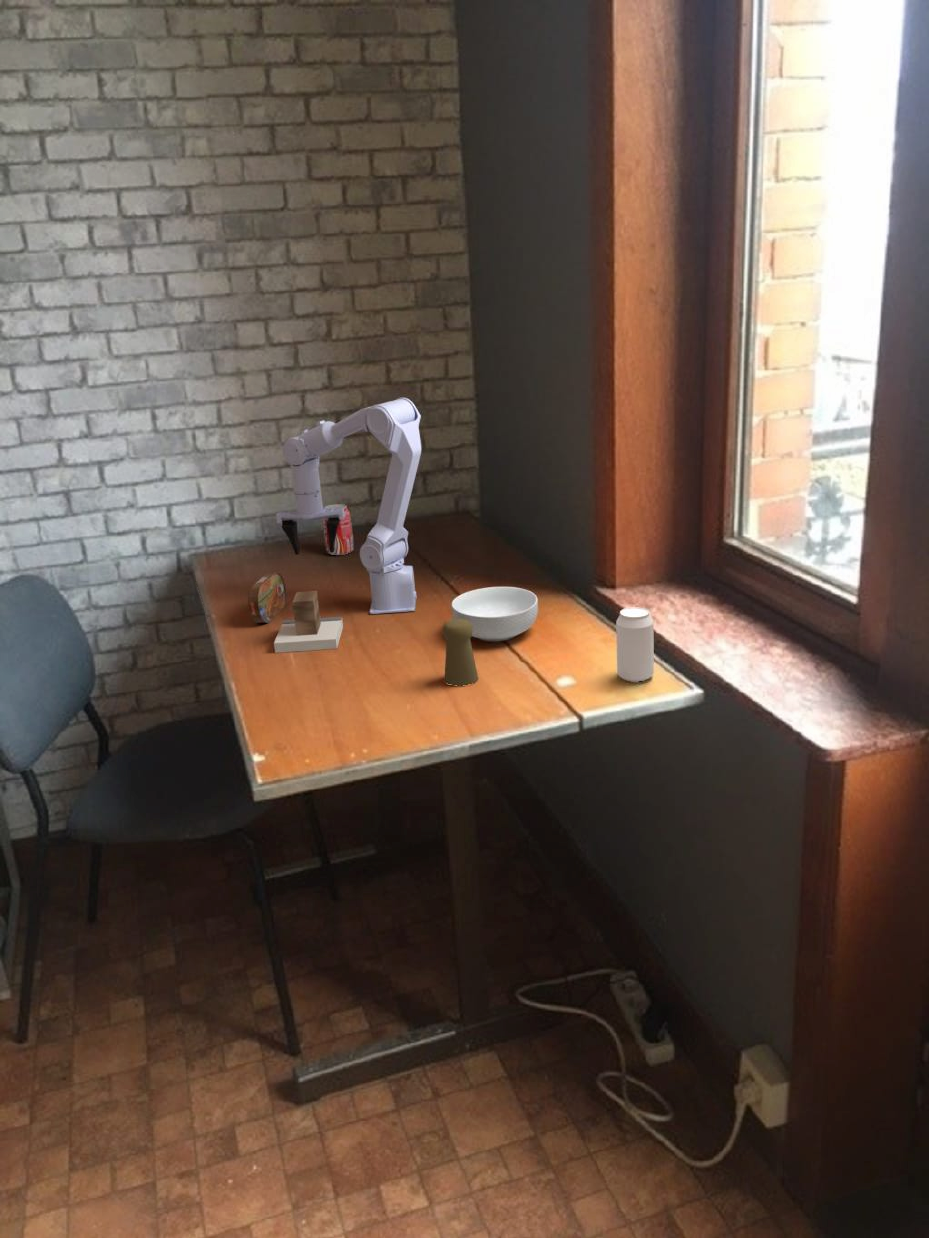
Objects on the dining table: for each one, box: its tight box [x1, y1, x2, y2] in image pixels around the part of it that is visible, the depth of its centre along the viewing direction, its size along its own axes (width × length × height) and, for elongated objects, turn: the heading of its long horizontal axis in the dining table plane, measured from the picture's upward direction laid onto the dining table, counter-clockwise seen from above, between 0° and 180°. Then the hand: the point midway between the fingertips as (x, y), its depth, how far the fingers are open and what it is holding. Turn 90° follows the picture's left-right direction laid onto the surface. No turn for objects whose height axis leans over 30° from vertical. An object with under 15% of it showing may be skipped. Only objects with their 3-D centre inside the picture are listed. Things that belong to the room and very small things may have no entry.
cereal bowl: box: [451, 586, 539, 642], centre depth 203 cm, size 17×17×7 cm
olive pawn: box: [442, 618, 479, 687], centre depth 183 cm, size 6×6×11 cm
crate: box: [291, 590, 321, 636], centre depth 207 cm, size 4×6×7 cm
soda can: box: [322, 503, 354, 556], centre depth 263 cm, size 7×7×12 cm
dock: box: [273, 616, 344, 654], centre depth 208 cm, size 12×12×2 cm
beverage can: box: [615, 606, 655, 683], centre depth 178 cm, size 6×6×12 cm
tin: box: [247, 572, 287, 624], centre depth 222 cm, size 15×3×8 cm, turn 168°
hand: (315, 552), depth 229 cm, fingers open, 7 cm apart
